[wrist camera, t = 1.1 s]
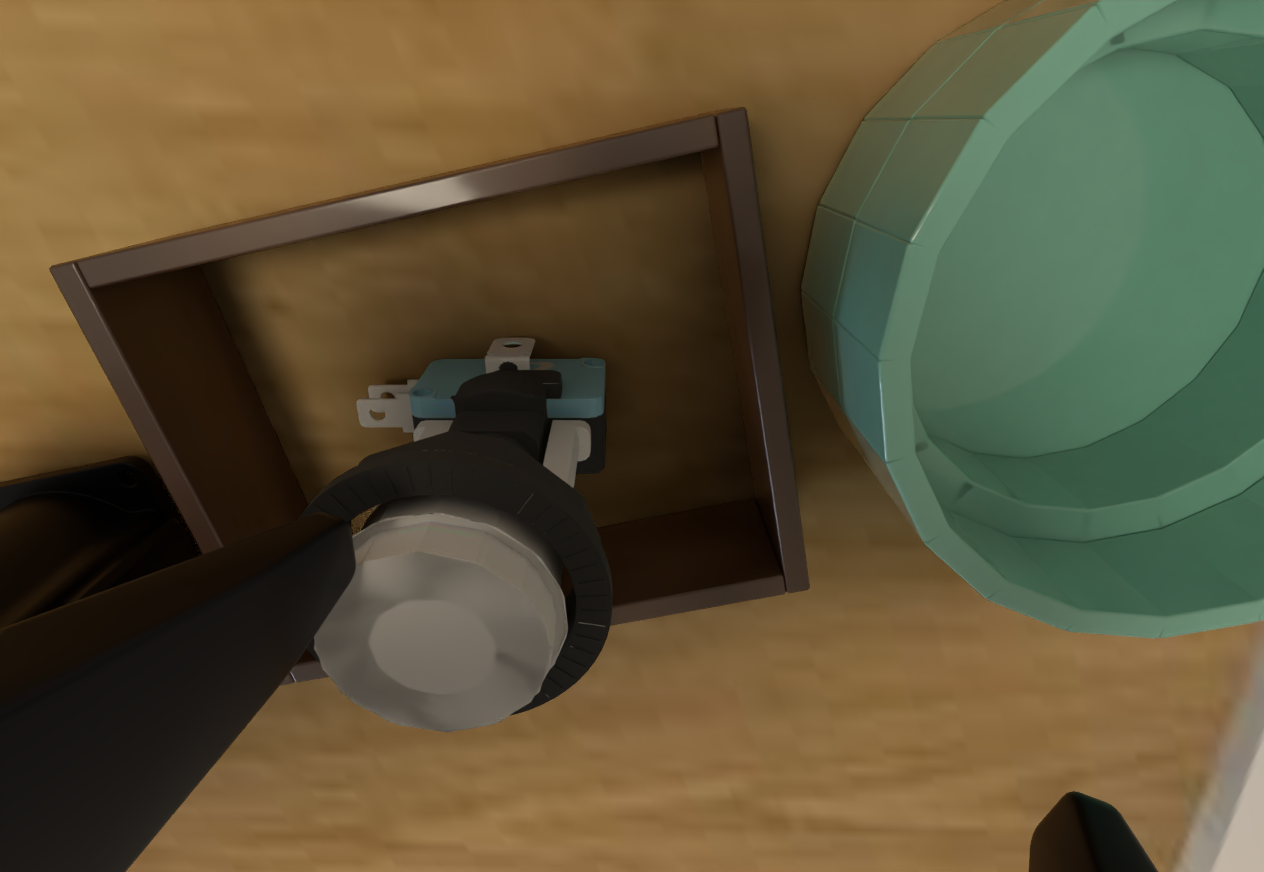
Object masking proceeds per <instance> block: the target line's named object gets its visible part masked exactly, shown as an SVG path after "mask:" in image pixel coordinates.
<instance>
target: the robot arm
mask: <svg viewBox="0 0 1264 872" xmlns="http://www.w3.org/2000/svg"><path fill="white" fill-rule="evenodd" d="M127 471H129V472H131V473H133V474H134V476H135V477H136V480H135V479H133V478H131V477H130V476H129V475H128V474H127ZM355 570H356V558H355V551H354V544H353V538H352V531H351V527H350V525H349V523H348V522H347V521H345V520H343V519H340V518H338V517H335V516H332V515H330V514H327V513H315V514H312V515H309V516H306V517H304V518H301V519H298V520H295V521H293V522H290V523H287V524H285V525H282V526H279V527H276V528H274V529H271V530H268V531H266V532H263V533H260V534H257V535H255V536H252V537H249V538H247V539H244V540H241V541H238V542H236V543H233V544H230V545H228V546H225V547H222V548H219V549H217V550H214V551H211V552H208V553H206V554H203V555H200V556H199V554H198V553H197V551H196V549H195V547H194V545H193V543H192V541H191V540H190V538H189V536H188V534H187V532H186V530H185V529H184V527H183V525H182V523H181V521H180V519H179V517H178V516H177V514H176V512H175V510H174V508H173V506H172V505H171V503H170V501H169V499H168V497H167V495H166V494H165V492H164V490H163V488H162V486H161V484H160V482H159V481H158V479H157V477H156V475H155V473H154V471H153V470H152V468H151V467H150V465H149V464H148V463H147V462H145V461H144V460H142V459H140V458H137V457H134V456H133V457H123V458H118V459H113V460H108V461H104V462H99V463H94V464H89V465H84V466H80V467H75V468H70V469H65V470H60V471H56V472H51V473H46V474H41V475H36V476H32V477H27V478H22V479H17V480H12V481H8V482H3V483H0V872H126V871H127V870H128V868H129V867H130V866H131V865H132V863H133V862H134V861H135V860H136V859H137V857H138V856H139V855H140V854H141V853H142V851H143V850H144V849H145V848H146V847H147V845H148V844H149V843H150V842H151V840H152V839H153V838H154V837H155V836H156V834H157V833H158V832H159V831H160V830H161V828H162V827H163V826H164V825H165V824H166V822H167V821H168V820H169V819H170V817H171V816H172V815H173V814H174V813H175V811H176V810H177V809H178V808H179V807H180V805H181V804H182V803H183V802H184V801H185V799H186V798H187V797H188V796H189V794H190V793H191V792H192V791H193V790H194V788H195V787H196V786H197V785H198V784H199V782H200V781H201V780H202V779H203V778H204V776H205V775H206V774H207V773H208V772H209V770H210V769H211V768H212V767H213V765H214V764H215V763H216V762H217V761H218V759H219V758H220V757H221V756H222V755H223V753H224V752H225V751H226V750H227V749H228V747H229V746H230V745H231V744H232V742H233V741H234V740H235V739H236V738H237V736H238V735H239V734H240V733H241V732H242V730H243V729H244V728H245V727H246V726H247V724H248V723H249V722H250V721H251V719H252V718H253V717H254V716H255V715H256V713H257V712H258V711H259V710H260V709H261V707H262V706H263V705H264V704H265V703H266V701H267V700H268V699H269V698H270V696H271V695H272V694H273V693H274V692H275V690H276V689H277V688H278V687H279V685H280V684H281V683H282V682H283V680H284V679H285V678H286V676H287V675H288V674H289V672H290V671H291V670H292V668H293V667H294V665H295V664H296V663H297V661H298V660H299V658H300V657H301V655H302V654H303V652H304V651H305V649H306V648H307V646H308V645H309V643H310V642H311V640H312V639H313V637H314V636H315V634H316V633H317V631H318V630H319V629H320V627H321V626H322V624H323V623H324V621H325V620H326V618H327V617H328V615H329V614H330V612H331V611H332V609H333V608H334V606H335V605H336V603H337V602H338V600H339V599H340V597H341V596H342V594H343V593H344V591H345V590H346V588H347V587H348V585H349V584H350V582H351V581H352V578H353V576H354V574H355ZM1029 872H1158V871H1157V869H1156V868H1155V866H1154V864H1153V863H1152V861H1151V860H1150V858H1149V857H1148V855H1147V854H1146V852H1145V851H1144V849H1143V848H1142V846H1141V844H1140V843H1139V841H1138V840H1137V838H1136V837H1135V835H1134V834H1133V832H1132V831H1131V829H1130V828H1129V826H1128V824H1127V823H1126V821H1125V820H1124V818H1123V817H1122V815H1121V814H1120V813H1119V812H1118V811H1117V810H1116V809H1115V808H1114V807H1113V806H1112V805H1110V804H1108V803H1106V802H1104V801H1101V800H1098V799H1096V798H1093V797H1090V796H1088V795H1085V794H1082V793H1079V792H1075V791H1073V792H1069V793H1066V794H1065V795H1064V796H1063V797H1062V798H1061V799H1060V800H1059V802H1058V803H1057V804H1056V805H1055V806H1054V807H1053V809H1052V810H1051V811H1050V812H1049V813H1048V814H1047V815H1046V817H1045V818H1044V819H1043V820H1042V821H1041V822H1040V824H1039V825H1038V826H1037V828H1036V829H1035V831H1034V833H1033V836H1032V840H1031V845H1030V858H1029Z"/></svg>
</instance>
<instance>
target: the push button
mask: <svg viewBox="0 0 1264 872" xmlns="http://www.w3.org/2000/svg"><path fill="white" fill-rule="evenodd" d="M509 344H519V345H521V346H519V347H515V348H507V347H504V346H506V345H509ZM534 345H535V340H534V339H532V338H498V339H495V340H493V342H492V344H491V346H490V348H489V350H488V352H487V355H488V356H485V359H439V360H435V361H433V362H431V363H430V364H429V365H428V367H427V368H426V370H425V371H424V373H423V374H422V376H421V377H420V379H408V380H407V383H408V385H370V386H369V387H368V394H369V398H360V399H359V400H358V401H357V402H356V406H357V411H358V416H359V422H360V425H361V426H363V427H403V432H414V434H413V438H414V442H411V443H408V444H405V445H402V446H398V447H395V448H392V449H388V450H385V451H382V452H378V453H375V454H372V455H369V456H367V457H365V458H364V459H363V460H362V461H361V462H360V463H359V465H358V466H356V467H354V468H352V469H350V470H348V471H347V472H345V473H343V474H342V475H340V476H338V477H337V478H336V479H334V480H333V481H332V482H330V483H329V484H328V485H327V486H325V487H324V488H323V489H322V490H321V491H320V492H319V493H318V494H317V495H316V496H315V497H314V498H313V500H312V501H311V502H310V504H309V505H308V506H307V508H306V509H305V510H304V512H303V513H302V514H301V516H300V517H299V518H298V519H301V518H304V517H306V516H309V515H312V514H315V513H327V514H330V515H332V516H335V517H338V518H340V519H343V520H345V521H347V522H348V523H349V525H351V520H352V519H353V518H355V517H356V516H358V515H359V514H361V513H362V512H364V511H366V510H368V509H370V508H372V507H374V506H375V507H374V509H373V511H372V512H371V514H370V516H369V517H368V519H367V521H366V522H365V524H364V526H363V528H362V529H361V531H360V532H359V533H357V534H355V535H354V536H352V538H353V544H354V551H355V558H356V570H355V574H354V576H353V578H352V581H351V582H350V584H349V585H348V587H347V588H346V590H345V591H344V593H343V594H342V596H341V597H340V599H339V600H338V602H337V603H336V605H335V606H334V608H333V609H332V611H331V612H330V614H329V615H328V617H327V618H326V620H325V621H324V623H323V624H322V626H321V627H320V629H319V630H318V631H317V633H316V634H315V636H314V637H313V639H312V640H311V642H310V643H309V645H308V646H307V650H308V651H309V652H310V654H311V655H312V656H313V657H314V658H315V659H316V660H317V661H318V662H319V663H320V664H321V666H322V669H323V670H324V671H325V672H326V673H327V675H328V676H329V677H330V678H331V679H332V680H333V681H334V682H335V684H336V685H337V687H338V688H339V690H340V692H341V693H343V694H344V695H346V696H348V698H349V699H350V700H351V701H352V702H353V703H355V704H357V705H359V706H361V707H363V708H365V709H367V710H369V711H371V712H373V713H375V714H377V715H379V716H380V717H382V718H384V719H385V720H387V721H389V722H392V723H395V724H397V725H403V726H409V727H416V728H422V729H429V730H435V731H442V732H452V731H458V730H464V729H470V728H476V727H481V726H487V725H493V724H496V723H497V722H501V721H503V720H504V719H505V718H506V717H508V716H510V715H514V714H517V713H521V712H524V711H527V710H530V709H532V708H535V707H537V706H540V705H542V704H544V703H546V702H548V701H550V700H552V699H554V698H555V697H557V696H559V695H560V694H562V693H563V692H565V691H566V690H567V689H569V688H570V687H571V686H572V685H574V684H575V683H576V682H577V681H578V680H579V679H580V678H581V677H582V676H583V675H584V674H585V673H586V672H587V671H588V670H589V668H590V667H591V666H592V664H593V663H594V662H595V660H596V659H597V657H598V655H599V653H600V652H601V650H602V648H603V646H604V643H605V641H606V638H607V635H608V632H609V628H610V624H611V616H612V599H613V594H612V578H611V571H610V567H609V563H608V560H607V557H606V554H605V552H604V549H603V547H602V545H601V540H600V535H599V533H598V530H597V528H596V526H595V523H594V521H593V518H592V516H591V514H590V511H589V509H588V506H587V504H586V502H585V499H584V497H583V496H582V495H581V494H580V493H579V492H578V491H577V490H575V489H574V483H575V475H576V474H591V473H598V472H600V471H602V470H603V469H604V467H605V450H606V433H607V425H606V362H605V361H604V360H603V359H600V358H581V359H530V357H529V356H531V354H532V351H533V348H534ZM385 392H389V393H392V394H393V395H394V396H395V398H381V395H382V394H383V393H385ZM370 410H372V411H374V412H385V414H386V416H385V418H384V419H380V420H379V419H375V418H374V417H373V416H372V415H371V413H370ZM564 564H565V566H566V568H567V570H568V572H569V574H570V577H571V580H572V582H573V588H572V589H571V591H570V593H569V594H568V596H567V597H566V598H564V595H563V592H562V590H561V580H562V572H563V565H564Z"/></svg>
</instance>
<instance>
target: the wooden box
mask: <svg viewBox="0 0 1264 872" xmlns="http://www.w3.org/2000/svg"><path fill="white" fill-rule="evenodd" d="M696 152H701V157H702V163H703V169H704V176H705V182H706V188H707V194H708V201H709V207H710V213H711V220H712V226H713V232H714V238H715V245H716V251H717V257H718V263H719V270H720V276H721V282H722V289H723V295H724V301H725V307H726V314H727V320H728V326H729V332H730V339H731V345H732V351H733V357H734V364H735V370H736V376H737V383H738V389H739V395H740V401H741V408H742V414H743V420H744V426H745V433H746V439H747V445H748V452H749V458H750V464H751V470H752V477H753V483H754V489H755V495H756V499H749V500H744V501H739V502H733V503H728V504H723V505H718V506H712V507H707V508H702V509H697V510H691V511H686V512H681V513H676V514H671V515H665V516H660V517H655V518H650V519H644V520H639V521H634V522H629V523H624V524H618V525H613V526H608V527H603V528H597V530H598V533H599V535H600V540H601V545H602V547H603V549H604V552H605V554H606V557H607V560H608V563H609V567H610V571H611V578H612V594H613V599H612V616H611V624H610V626H612V625H617V624H623V623H628V622H634V621H639V620H645V619H650V618H656V617H661V616H667V615H672V614H678V613H683V612H689V611H694V610H700V609H705V608H711V607H716V606H722V605H727V604H733V603H738V602H744V601H749V600H755V599H760V598H766V597H771V596H777V595H782V594H785V592H787V593H793V592H799V591H804V590H808V589H809V588H810V584H809V577H808V569H807V562H806V554H805V546H804V539H803V531H802V524H801V516H800V509H799V501H798V493H797V486H796V478H795V471H794V463H793V456H792V448H791V440H790V433H789V425H788V418H787V410H786V403H785V395H784V387H783V380H782V372H781V365H780V357H779V349H778V342H777V334H776V327H775V319H774V312H773V304H772V296H771V289H770V281H769V274H768V266H767V259H766V251H765V243H764V236H763V228H762V221H761V213H760V206H759V198H758V190H757V183H756V175H755V168H754V160H753V153H752V145H751V137H750V130H749V122H748V115H747V110H746V108H744V107H740V108H732V109H724V110H717V111H712V112H708V113H704V114H699V115H697V116H691V117H686V118H682V119H677V120H673V121H669V122H664V123H660V124H656V125H651V126H647V127H643V128H638V129H634V130H630V131H625V132H621V133H617V134H612V135H608V136H604V137H599V138H595V139H590V140H586V141H582V142H577V143H573V144H569V145H564V146H560V147H556V148H551V149H547V150H543V151H538V152H534V153H530V154H525V155H521V156H517V157H512V158H508V159H503V160H499V161H495V162H490V163H486V164H482V165H477V166H473V167H469V168H464V169H460V170H456V171H451V172H447V173H443V174H438V175H434V176H430V177H425V178H421V179H416V180H412V181H408V182H403V183H399V184H395V185H390V186H386V187H382V188H377V189H373V190H369V191H364V192H360V193H356V194H351V195H347V196H342V197H338V198H334V199H329V200H325V201H321V202H316V203H312V204H308V205H303V206H299V207H295V208H290V209H286V210H282V211H277V212H273V213H269V214H264V215H260V216H255V217H251V218H247V219H242V220H238V221H234V222H229V223H225V224H221V225H216V226H212V227H208V228H203V229H199V230H195V231H190V232H186V233H182V234H177V235H173V236H168V237H164V238H160V239H156V240H152V241H148V242H144V243H140V244H136V245H132V246H128V247H124V248H120V249H116V250H112V251H109V252H105V253H101V254H97V255H93V256H89V257H85V258H81V259H77V260H73V261H69V262H65V263H61V264H57V265H53V266H51V267H50V268H49V269H50V272H51V274H52V276H53V278H54V279H55V281H56V283H57V285H58V287H59V289H60V291H61V292H62V294H63V296H64V298H65V300H66V302H67V304H68V305H69V307H70V309H71V311H72V313H73V315H74V316H75V318H76V320H77V322H78V324H79V326H80V328H81V329H82V331H83V333H84V335H85V337H86V339H87V341H88V342H89V344H90V346H91V348H92V350H93V352H94V354H95V355H96V357H97V359H98V361H99V363H100V365H101V367H102V368H103V370H104V372H105V374H106V376H107V378H108V380H109V381H110V383H111V385H112V387H113V389H114V391H115V393H116V394H117V396H118V398H119V400H120V402H121V404H122V405H123V407H124V409H125V411H126V413H127V415H128V417H129V418H130V420H131V422H132V424H133V426H134V428H135V430H136V431H137V433H138V435H139V437H140V439H141V441H142V443H143V444H144V446H145V448H146V450H147V452H148V454H149V456H150V457H151V459H152V461H153V463H154V465H155V467H156V469H157V470H158V472H159V474H160V476H161V478H162V480H163V482H164V483H165V485H166V487H167V489H168V491H169V493H170V494H171V496H172V498H173V500H174V502H175V504H176V506H177V507H178V509H179V511H180V513H181V515H182V517H183V519H184V520H185V522H186V524H187V526H188V528H189V530H190V532H191V533H192V535H193V537H194V539H195V541H196V543H197V545H198V546H199V548H200V550H201V552H202V554H206V553H208V552H211V551H214V550H217V549H219V548H222V547H225V546H228V545H230V544H233V543H236V542H238V541H241V540H244V539H247V538H249V537H252V536H255V535H257V534H260V533H263V532H266V531H268V530H271V529H274V528H276V527H279V526H282V525H285V524H287V523H290V522H293V521H295V520H298V518H299V517H300V516H301V514H302V513H303V512H304V510H305V509H306V508H307V506H308V505H307V503H306V501H305V498H304V496H303V494H302V492H301V490H300V487H299V485H298V483H297V481H296V479H295V476H294V474H293V472H292V470H291V468H290V465H289V463H288V461H287V459H286V457H285V454H284V452H283V450H282V448H281V446H280V443H279V441H278V439H277V437H276V435H275V432H274V430H273V428H272V426H271V423H270V421H269V419H268V417H267V415H266V412H265V410H264V408H263V406H262V404H261V401H260V399H259V397H258V395H257V393H256V390H255V388H254V386H253V384H252V382H251V379H250V377H249V375H248V373H247V371H246V368H245V366H244V364H243V362H242V360H241V357H240V355H239V353H238V351H237V349H236V346H235V344H234V342H233V340H232V337H231V335H230V333H229V331H228V329H227V326H226V324H225V322H224V320H223V318H222V315H221V313H220V311H219V309H218V307H217V304H216V302H215V300H214V298H213V296H212V293H211V291H210V289H209V287H208V285H207V282H206V280H205V278H204V276H203V274H202V271H201V269H200V267H199V265H201V264H206V263H210V262H215V261H219V260H223V259H228V258H232V257H237V256H241V255H245V254H250V253H254V252H259V251H263V250H268V249H272V248H276V247H281V246H285V245H290V244H294V243H299V242H303V241H307V240H312V239H316V238H321V237H325V236H329V235H334V234H338V233H343V232H347V231H352V230H356V229H360V228H365V227H369V226H374V225H378V224H383V223H387V222H391V221H396V220H400V219H405V218H409V217H413V216H418V215H422V214H427V213H431V212H436V211H440V210H444V209H449V208H453V207H458V206H462V205H466V204H471V203H475V202H480V201H484V200H489V199H493V198H497V197H502V196H506V195H511V194H515V193H520V192H524V191H528V190H533V189H537V188H542V187H546V186H550V185H555V184H559V183H564V182H568V181H573V180H577V179H581V178H586V177H590V176H595V175H599V174H604V173H608V172H612V171H617V170H621V169H626V168H630V167H634V166H639V165H643V164H648V163H652V162H657V161H661V160H665V159H670V158H674V157H679V156H683V155H688V154H692V153H696ZM572 588H573V582H572V580H571V577H570V574H569V572H568V570H567V568H566V566H565V564H564V565H563V572H562V580H561V590H562V592H563V595H564V598H566V597H567V596H568V594H569V593H570V591H571V589H572ZM325 677H329V676H328V675H327V673H326V672H325V671H324V670H323V669H322V666H321V664H320V663H319V662H318V661H317V660H316V659H315V658H314V657H313V656H312V655H311V654H310V652H309V651H308V650H307V648H306V649H305V651H304V652H303V654H302V655H301V657H300V658H299V660H298V661H297V663H296V664H295V665H294V667H293V668H292V670H291V671H290V672H289V674H288V675H287V676H286V678H285V679H284V680H283V682H282V683H281V684H280V685H279V686H281V685H286V684H292V683H294V682H303V681H309V680H314V679H320V678H325Z"/></svg>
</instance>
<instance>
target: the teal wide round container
mask: <svg viewBox="0 0 1264 872" xmlns="http://www.w3.org/2000/svg"><path fill="white" fill-rule="evenodd" d="M801 290H802V293H801V296H802V305H803V313H804V322H805V331H806V340H807V348H808V357H809V364H810V366H811V371H812V373H813V375H814V377H815V379H816V381H817V383H818V385H819V387H820V389H821V391H822V393H823V395H824V397H825V399H826V401H827V403H828V405H829V407H830V409H831V411H832V413H833V415H834V417H835V419H836V421H837V423H838V425H839V427H840V428H841V430H842V431H843V432H844V434H845V435H846V436H847V438H848V439H849V441H850V442H851V443H852V445H853V446H854V447H855V449H856V450H857V452H858V453H859V454H860V456H861V457H862V458H863V460H864V461H865V463H866V464H867V465H868V467H869V468H870V469H871V471H872V472H873V474H874V475H875V477H876V478H877V479H878V481H879V482H880V483H881V485H882V486H883V488H884V489H885V490H886V492H887V493H888V495H889V496H890V497H891V499H892V500H893V501H894V503H895V504H896V506H897V507H898V508H899V510H900V511H901V512H902V514H903V515H904V517H905V518H906V519H907V521H908V522H909V523H910V525H911V526H912V528H913V529H914V530H915V532H916V533H917V535H918V536H919V537H920V539H921V540H922V541H923V543H924V544H925V545H926V546H927V547H928V548H929V549H930V550H931V551H932V552H934V553H935V554H936V555H937V556H938V557H939V558H940V559H941V560H942V561H943V562H945V563H946V564H947V565H948V566H949V567H950V568H951V569H952V570H953V571H955V572H956V573H957V574H958V575H959V576H960V577H961V578H962V579H963V580H965V581H966V582H967V583H968V584H969V585H970V586H971V587H972V588H973V589H974V590H976V591H977V592H978V593H979V594H980V595H981V596H982V597H984V598H986V599H987V600H988V601H991V602H993V603H996V604H998V605H1001V606H1004V607H1006V608H1009V609H1011V610H1014V611H1016V612H1019V613H1021V614H1024V615H1026V616H1029V617H1031V618H1034V619H1036V620H1039V621H1041V622H1044V623H1046V624H1049V625H1051V626H1054V627H1057V628H1059V629H1062V630H1064V631H1066V630H1067V631H1069V632H1077V633H1090V634H1103V635H1116V636H1129V637H1142V638H1154V639H1157V638H1159V637H1160V638H1168V637H1173V636H1179V635H1185V634H1191V633H1197V632H1203V631H1209V630H1214V629H1220V628H1226V627H1232V626H1238V625H1244V624H1250V623H1255V622H1258V621H1259V620H1260V621H1262V620H1264V0H1006V1H1004V2H1002V3H1001V4H999V5H997V6H996V7H994V8H992V9H991V10H989V11H987V12H986V13H984V14H982V15H981V16H979V17H977V18H976V19H974V20H972V21H971V22H969V23H967V24H966V25H964V26H962V27H961V28H959V29H957V30H956V31H954V32H952V33H950V34H949V35H947V36H945V37H944V38H942V39H940V40H939V41H937V42H936V44H934V45H932V46H931V47H930V48H929V49H928V50H927V51H926V52H925V53H924V55H923V56H922V57H921V58H920V59H919V60H918V61H917V62H916V63H915V64H914V65H913V66H912V67H911V68H910V69H909V71H908V72H907V73H906V74H905V75H904V76H903V77H902V78H901V79H900V80H899V81H898V82H897V83H896V84H895V85H894V86H893V88H892V89H891V90H890V91H889V92H888V93H887V94H886V95H885V96H884V97H883V98H882V99H881V100H880V101H879V102H878V103H877V105H876V106H875V107H874V108H873V109H872V110H871V111H870V112H869V113H868V114H867V115H866V116H865V118H864V120H863V121H862V122H861V124H860V126H859V128H858V130H857V132H856V134H855V135H854V137H853V139H852V141H851V143H850V145H849V147H848V149H847V151H846V153H845V155H844V156H843V158H842V160H841V162H840V164H839V166H838V168H837V170H836V172H835V174H834V175H833V177H832V179H831V181H830V183H829V185H828V187H827V189H826V191H825V193H824V194H823V196H822V198H821V200H820V203H819V205H818V207H817V211H816V216H815V221H814V226H813V231H812V236H811V241H810V245H809V250H808V255H807V260H806V265H805V270H804V275H803V280H802V285H801Z"/></svg>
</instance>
